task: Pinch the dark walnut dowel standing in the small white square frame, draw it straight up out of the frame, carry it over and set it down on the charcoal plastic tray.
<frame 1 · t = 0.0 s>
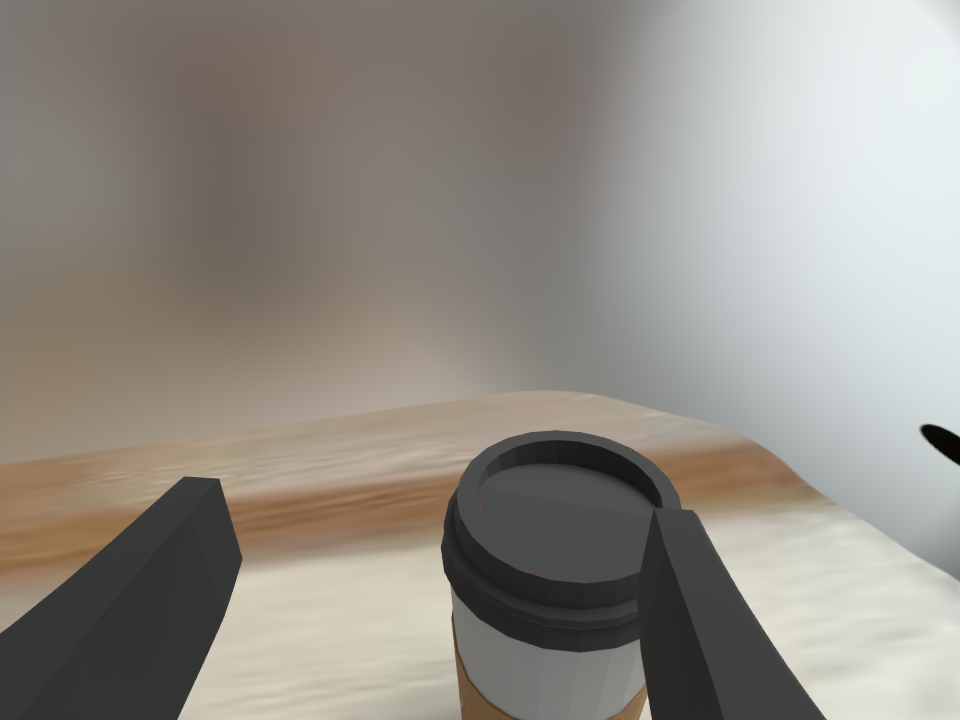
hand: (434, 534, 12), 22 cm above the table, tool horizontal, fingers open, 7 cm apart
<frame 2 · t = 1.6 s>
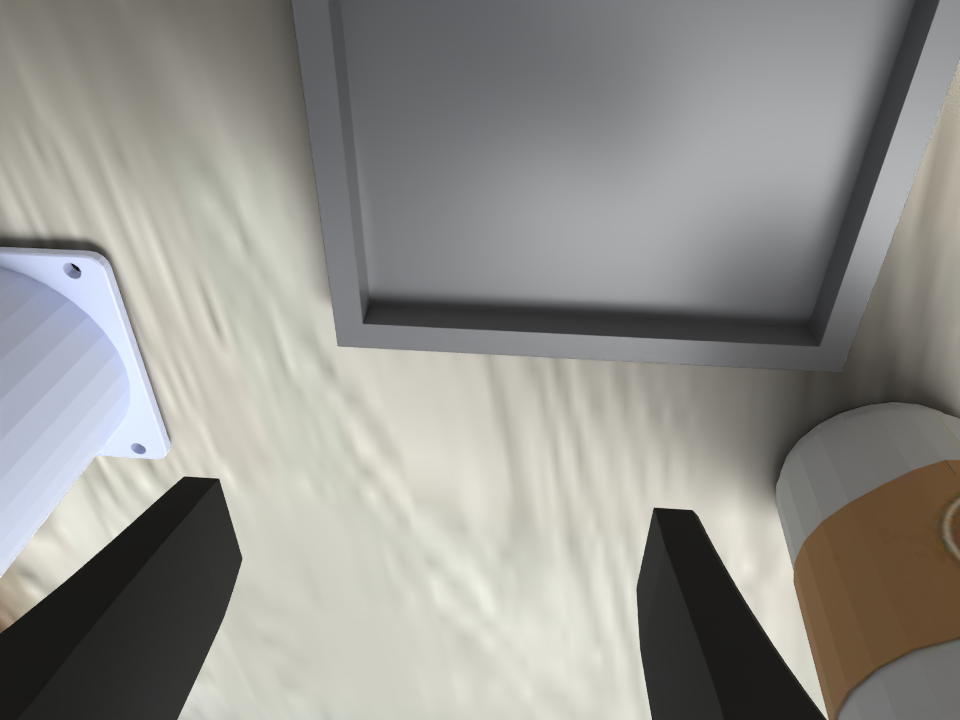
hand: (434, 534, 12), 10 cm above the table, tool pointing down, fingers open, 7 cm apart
coffee cup: (869, 466, 23), on the table
tray: (599, 164, 18), on the table
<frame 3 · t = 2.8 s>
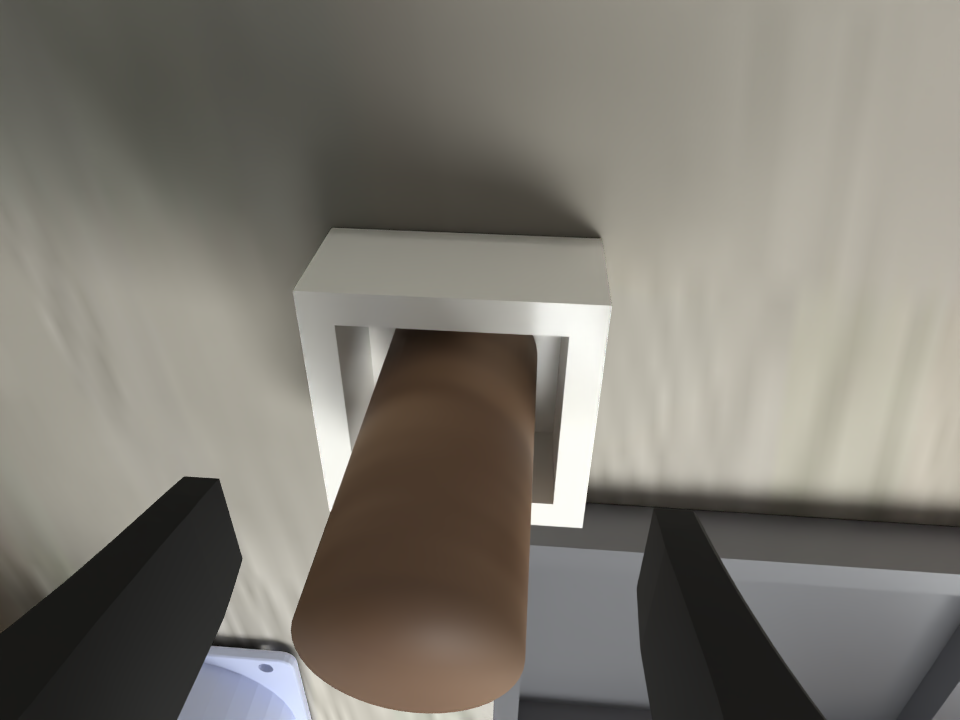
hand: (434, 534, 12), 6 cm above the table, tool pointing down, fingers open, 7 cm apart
white square frame: (465, 346, 16), on the table
dowel: (464, 355, 16), resting on white square frame
tray: (722, 625, 22), on the table
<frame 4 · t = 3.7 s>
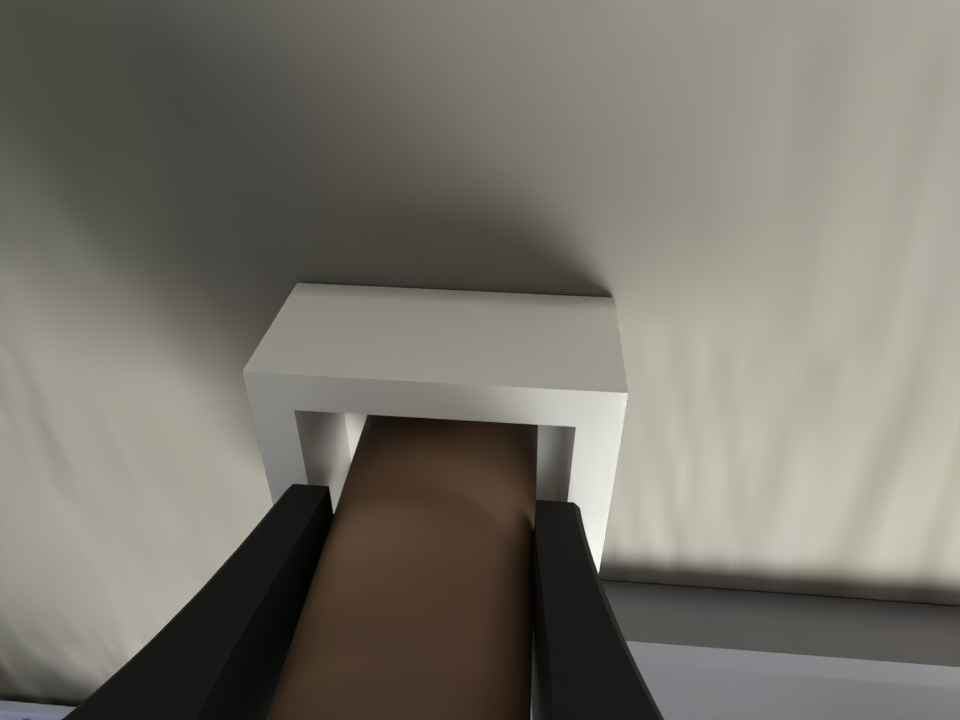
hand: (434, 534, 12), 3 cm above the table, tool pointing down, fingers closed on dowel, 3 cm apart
white square frame: (455, 413, 14), on the table
dowel: (453, 426, 14), resting on white square frame, touching gripper
tray: (743, 705, 20), on the table
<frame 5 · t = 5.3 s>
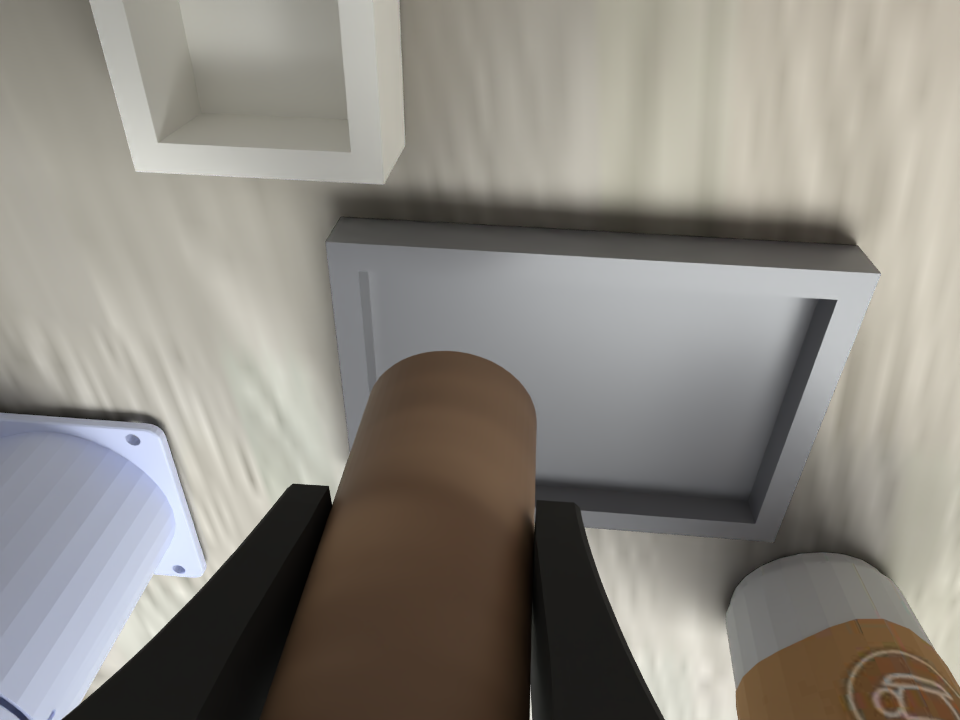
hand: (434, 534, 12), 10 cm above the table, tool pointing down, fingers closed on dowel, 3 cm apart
coffee cup: (806, 597, 27), on the table
white square frame: (279, 17, 16), on the table
dowel: (451, 420, 14), point 7 cm above the table, touching gripper
tray: (575, 378, 22), on the table
when the fingers open (4 cm above the table, at t = 7.1 s): dowel stays where it is, resting on tray.
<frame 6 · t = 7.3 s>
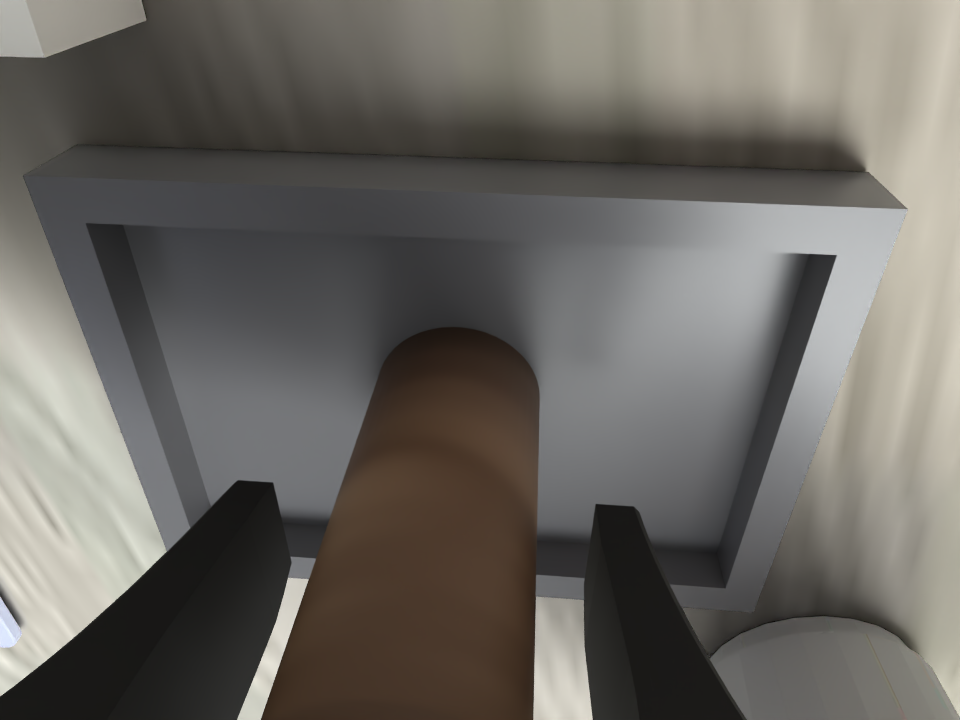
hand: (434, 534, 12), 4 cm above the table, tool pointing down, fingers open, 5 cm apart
coffee cup: (803, 670, 20), on the table
dowel: (458, 395, 15), point 1 cm above the table, touching tray
tray: (460, 384, 15), on the table
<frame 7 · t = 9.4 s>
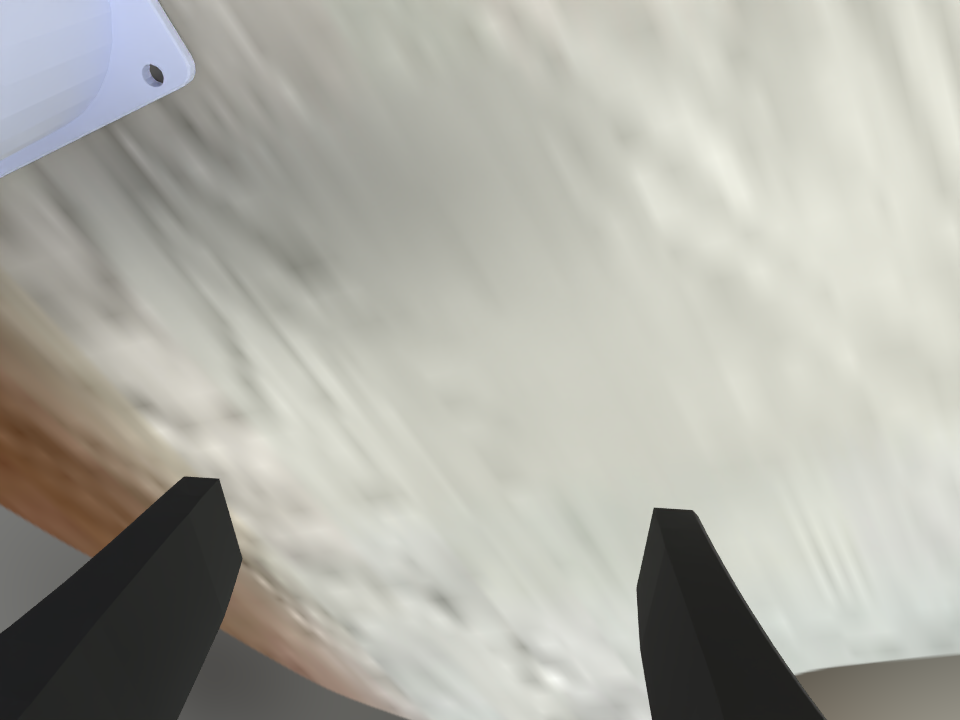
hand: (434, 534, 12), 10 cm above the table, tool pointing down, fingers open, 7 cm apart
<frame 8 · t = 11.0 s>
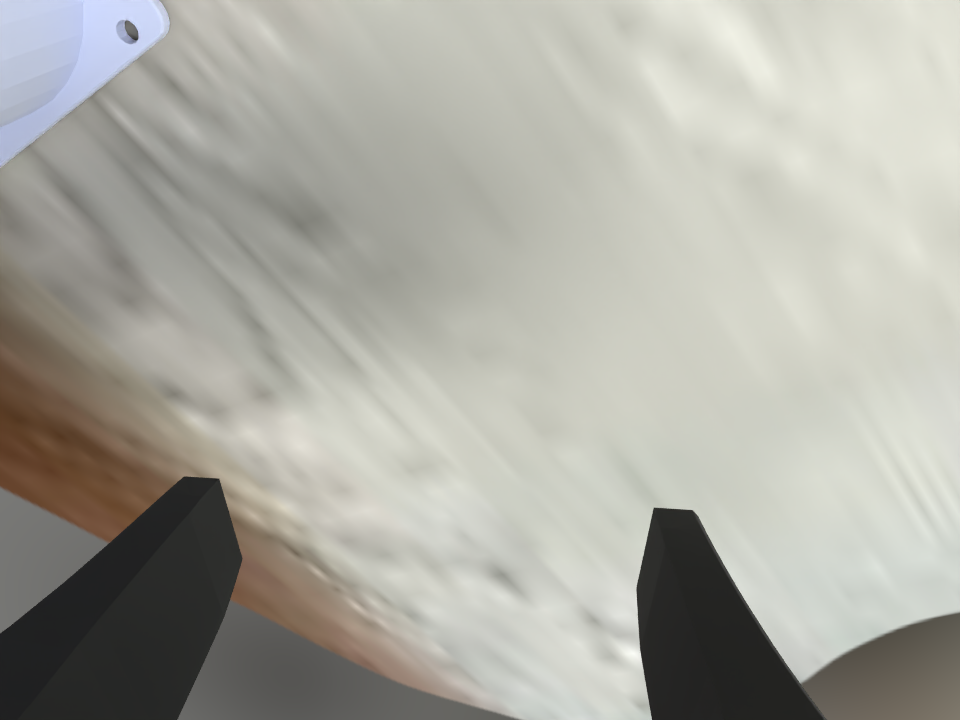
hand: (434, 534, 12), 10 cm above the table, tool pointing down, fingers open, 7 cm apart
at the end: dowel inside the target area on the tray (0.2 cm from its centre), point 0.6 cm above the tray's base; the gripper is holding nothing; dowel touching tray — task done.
